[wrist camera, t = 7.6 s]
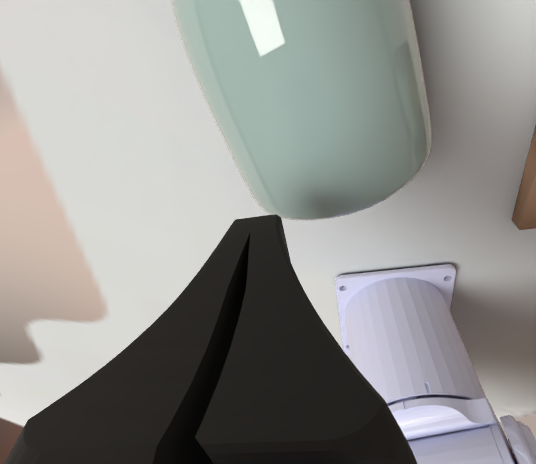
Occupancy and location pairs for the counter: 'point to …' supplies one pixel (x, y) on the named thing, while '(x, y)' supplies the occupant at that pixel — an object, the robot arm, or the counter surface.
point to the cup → (312, 97)
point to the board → (527, 193)
